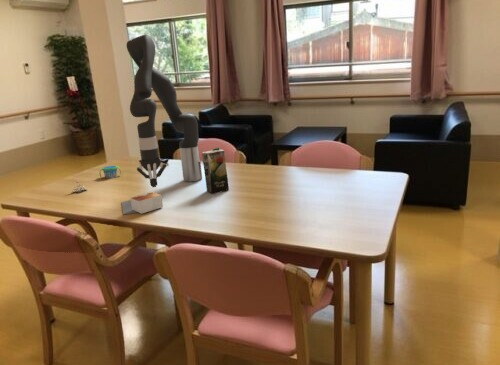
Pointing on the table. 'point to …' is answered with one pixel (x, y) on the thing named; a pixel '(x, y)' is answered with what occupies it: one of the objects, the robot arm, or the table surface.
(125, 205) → the mat
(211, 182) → the juice carton
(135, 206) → the small box
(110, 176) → the snack cup
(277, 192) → the table surface
